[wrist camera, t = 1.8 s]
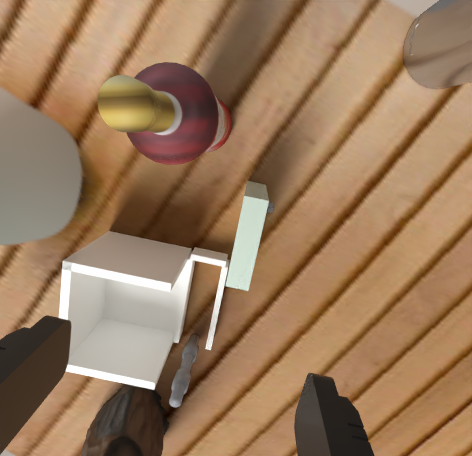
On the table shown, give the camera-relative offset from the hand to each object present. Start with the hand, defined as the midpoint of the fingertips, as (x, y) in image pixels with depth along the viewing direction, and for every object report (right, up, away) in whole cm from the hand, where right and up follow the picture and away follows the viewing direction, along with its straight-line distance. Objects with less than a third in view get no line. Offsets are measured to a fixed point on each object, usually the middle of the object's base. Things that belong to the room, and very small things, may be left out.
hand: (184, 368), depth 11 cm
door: (+3, +6, +35) cm, 36 cm away
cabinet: (-9, -5, +39) cm, 40 cm away
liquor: (-2, +18, +33) cm, 37 cm away
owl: (-15, -25, +45) cm, 54 cm away
